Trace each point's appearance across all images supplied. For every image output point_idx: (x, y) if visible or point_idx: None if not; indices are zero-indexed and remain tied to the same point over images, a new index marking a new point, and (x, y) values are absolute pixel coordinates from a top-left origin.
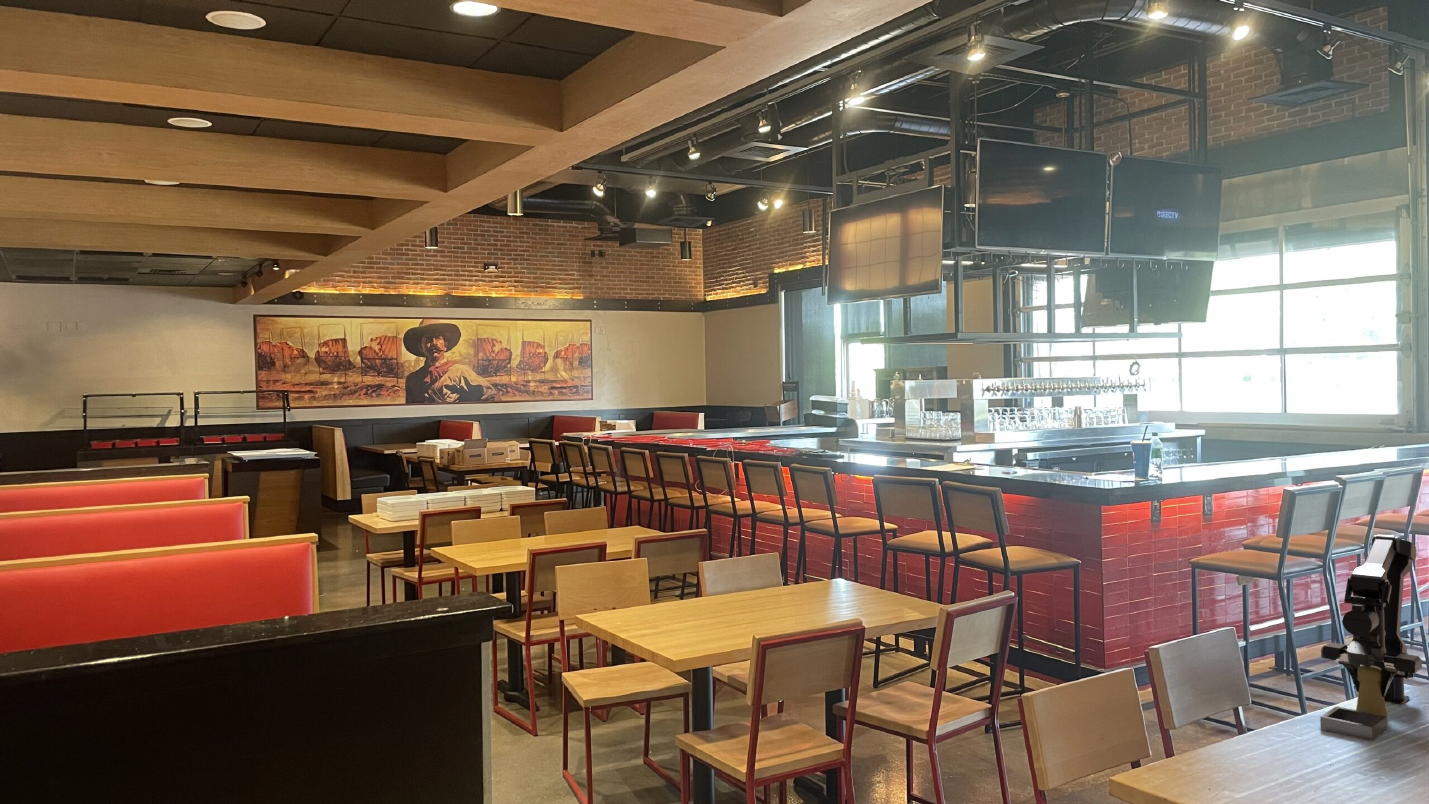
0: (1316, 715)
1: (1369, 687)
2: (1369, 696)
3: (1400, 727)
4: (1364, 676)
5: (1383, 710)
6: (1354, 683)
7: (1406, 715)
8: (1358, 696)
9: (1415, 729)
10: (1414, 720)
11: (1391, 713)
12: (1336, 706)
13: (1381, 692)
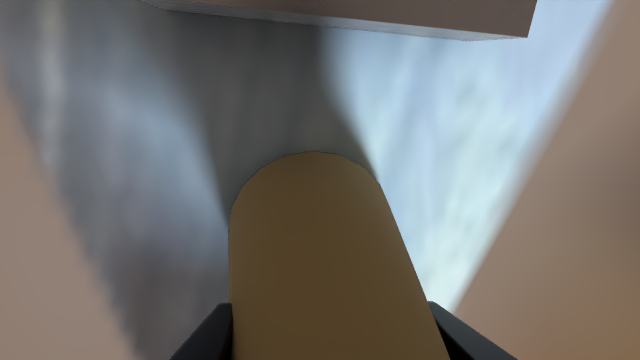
0: (574, 42)
1: (337, 299)
2: (322, 232)
3: (125, 128)
4: None
5: (233, 225)
6: (497, 347)
7: None
8: (409, 257)
9: (44, 147)
10: (122, 304)
11: None
12: (524, 31)
13: (230, 325)
